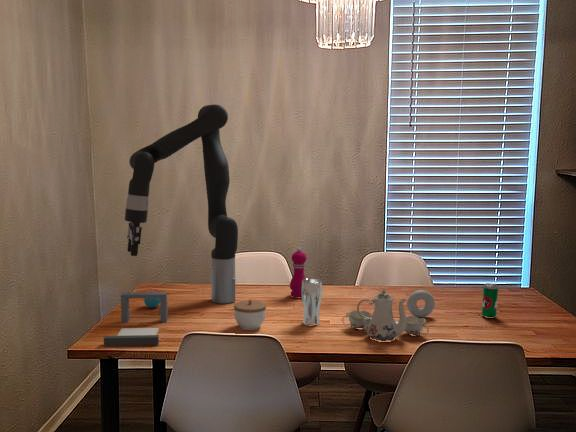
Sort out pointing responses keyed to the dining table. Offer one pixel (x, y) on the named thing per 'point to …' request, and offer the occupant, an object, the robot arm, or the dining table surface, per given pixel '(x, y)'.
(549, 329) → the dining table surface
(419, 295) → the donut
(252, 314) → the lidded jar
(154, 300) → the ball
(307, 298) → the beer glass
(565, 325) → the dining table surface
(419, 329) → the chinaware
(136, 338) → the wall
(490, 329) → the dining table surface
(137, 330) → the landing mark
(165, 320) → the bridge
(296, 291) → the pepper mill
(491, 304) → the soda can
